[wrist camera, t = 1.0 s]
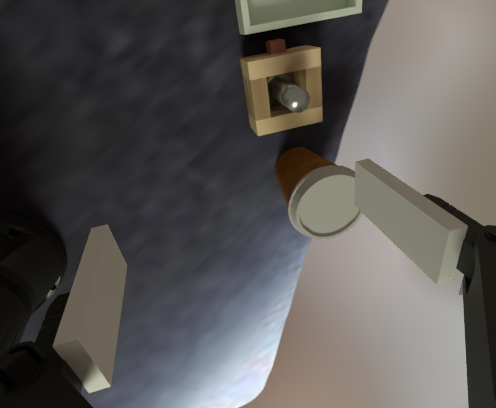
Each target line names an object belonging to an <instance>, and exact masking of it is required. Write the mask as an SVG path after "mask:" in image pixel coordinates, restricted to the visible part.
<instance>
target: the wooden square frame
mask: <svg viewBox="0 0 496 408" xmlns="http://www.w3.org/2000/svg"><path fill="white" fill-rule="evenodd" d="M266 50H267V53H263V54H258V55H253V56H248V57H243V58H240V63H241V69H242V76H243V82H244V89H245V96H246V102H247V109H248V115H249V122H250V127H251V128H252V129H253V131H254V132H255V133H256V134H257V136H261V135H265V134H270V133H274V132H278V131H283V130H287V129H292V128H296V127H300V126H305V125H309V124H314V123H318V122H322V121H323V115H322V79H321V48H320V47H315V46H310V45H304V46H298V47H293V48H288V49H285V40H284V39H274V40H269V41H266ZM289 72H294V84H295V85H297V86H299V87H301V88H302V89H304V90H306V91H307V92H308V93H309V95H310V103H309V106H308V107H307V108H306V110H304V111H303V112H300V113H295V112H292V111H291V110H290V109H288V108H287V107H286V106H284V105H279V106H274V107H270V105H269V96H268V87H267V79H266V77H270V76H275V75H279V74H284V73H289Z"/></svg>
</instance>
